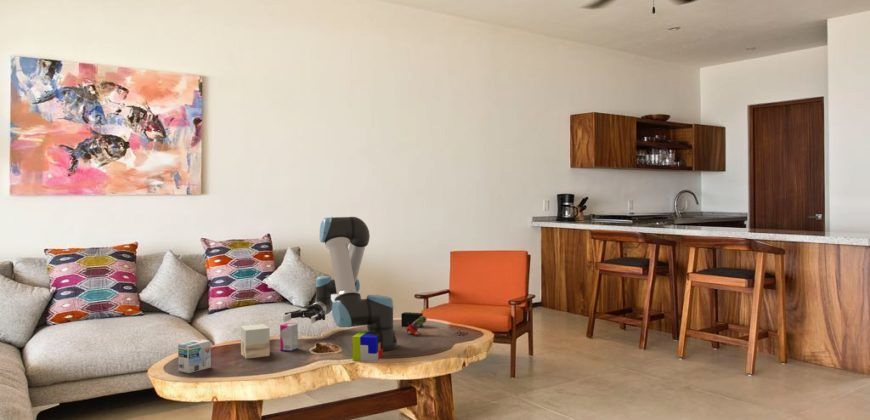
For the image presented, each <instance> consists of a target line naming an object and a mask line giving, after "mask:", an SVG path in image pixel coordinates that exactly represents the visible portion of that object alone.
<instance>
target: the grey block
mask: <svg viewBox="0 0 870 420" xmlns="http://www.w3.org/2000/svg"><path fill="white" fill-rule="evenodd" d="M241 340H242V341H243V343H244V344H245V345H248V344H256V343H265V342H270V341H271V340H270V327H269V326H268V325H266V324H265V323H261V324H260V323H259V324H250V325H249V324H248V325H242V326H240V341H241Z"/></svg>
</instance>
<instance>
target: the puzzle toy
mask: <svg viewBox="0 0 870 420" xmlns="http://www.w3.org/2000/svg"><path fill="white" fill-rule="evenodd" d="M351 339H352V341H351V342H352V361H353V360H356V361H357V362H372V363H373V362H376V363H377V361H379V360H380V359H381V358H382V357H383V356H384V351H383V332H367V331H359V332H357V333H356V334H354V335H353V336H352V338H351ZM356 361H355V362H356Z"/></svg>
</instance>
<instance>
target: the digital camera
mask: <svg viewBox="0 0 870 420" xmlns="http://www.w3.org/2000/svg"><path fill="white" fill-rule="evenodd" d="M400 314H401V316H400V317H401V321H400V322H401V327H402V328H406V327H409V326H410V325H411V324H412V323H413V322H414V321H416V320H417V319H418V318H419V317H421V316H424V315H423V314H424V313H423V312H412V311H411V312H406V311H405V312H402V313H400ZM408 325H409V326H408ZM423 325H424V323H423V324H422V325H421V326H420V327H419V328H418V329H420V328H423Z"/></svg>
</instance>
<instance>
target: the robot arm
mask: <svg viewBox="0 0 870 420" xmlns="http://www.w3.org/2000/svg"><path fill="white" fill-rule="evenodd" d="M370 236H371V235H370V230H369V228H368V226H367V224H366V223H365V222H364V221H363V219H361V218H359V217H357V216H331V217H324V218H323V219H322V220H321V223H320V226H319V240H320V243H324V247H325V248H326V249H328V250H329V256H330V261H331V262H330V263H331V266H332V272H333V278H334V279H332V277H331V276H328V275H320V276H317V277H316V280H315V296H316V297H315V302H314V303H312V304H310V305H308V306H307V308H306V309H304V310H301V309H298V310H294V311H288V312H284V315H283V323H285V322H286V323H287V322H289V321H290V320H292V319H297V318H302V319H309V320H310V323H311V324H314V323H316V322H319V321H321V320H322V321H326V315H328V314H330V313H331V314H332V318H333V321H334V323H335V325H336V326H337V327H338V328H353V327H354V328H355V327H364V326H366V327H367V328H366V332H383V352H384V351H392V350H394V349H396V348H398V340H397V337H396V334H395V331H394V301H393V298H391V297H390V296H387V295H379V294H368V295H366V298H362V296H361V293H360V292H359V291H360V286H361V285H360V284H361V283H360V280H359V278H358V275H359V272H360V270H361V269H360V268H361V265H362V261H363V257H364V253H365V250H366V247H367V246H368V245H369V243H370ZM332 295H336V296H335V298H334V301H333V300H332Z"/></svg>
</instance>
